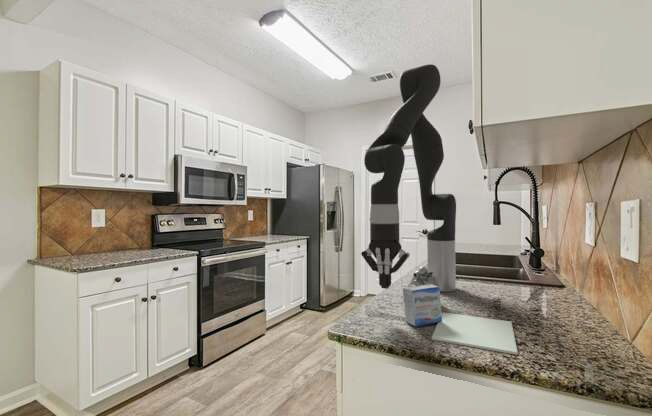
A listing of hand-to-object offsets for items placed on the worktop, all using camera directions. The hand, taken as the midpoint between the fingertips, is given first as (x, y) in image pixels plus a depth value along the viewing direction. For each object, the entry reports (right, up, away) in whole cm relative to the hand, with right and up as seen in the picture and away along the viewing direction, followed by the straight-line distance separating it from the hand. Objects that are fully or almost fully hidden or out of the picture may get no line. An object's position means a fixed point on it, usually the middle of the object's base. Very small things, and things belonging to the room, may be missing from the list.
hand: (385, 287), depth 82 cm
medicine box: (+9, -8, -4) cm, 12 cm away
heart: (+13, -8, +11) cm, 19 cm away
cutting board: (+19, -8, -9) cm, 22 cm away
